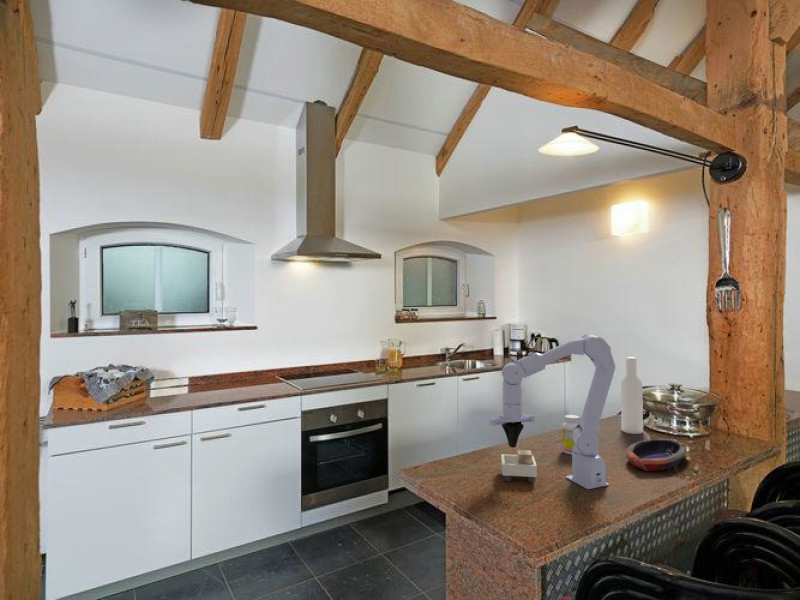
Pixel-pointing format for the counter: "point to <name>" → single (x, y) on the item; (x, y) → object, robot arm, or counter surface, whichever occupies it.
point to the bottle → (631, 400)
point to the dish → (656, 454)
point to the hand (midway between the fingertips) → (512, 446)
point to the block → (524, 457)
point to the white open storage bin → (517, 468)
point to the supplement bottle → (569, 432)
